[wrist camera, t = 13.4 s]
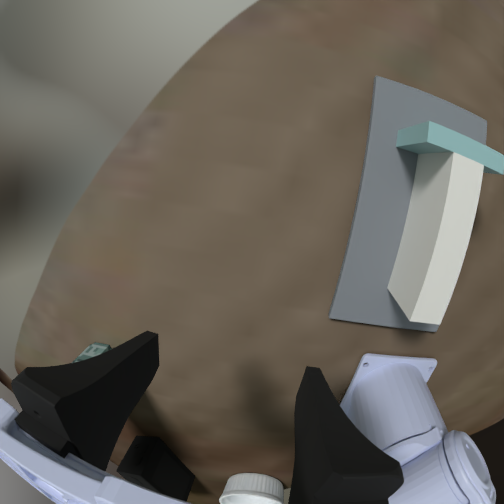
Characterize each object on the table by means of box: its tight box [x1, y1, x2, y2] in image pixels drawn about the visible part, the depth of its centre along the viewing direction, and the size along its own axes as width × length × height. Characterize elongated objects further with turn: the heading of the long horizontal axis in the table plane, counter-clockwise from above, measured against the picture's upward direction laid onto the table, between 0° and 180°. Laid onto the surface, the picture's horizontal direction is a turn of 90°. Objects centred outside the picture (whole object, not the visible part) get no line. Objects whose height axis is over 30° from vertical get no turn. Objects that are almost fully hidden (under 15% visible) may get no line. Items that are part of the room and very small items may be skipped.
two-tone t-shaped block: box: [387, 121, 504, 325], centre depth 15 cm, size 11×6×5 cm, turn 171°
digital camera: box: [117, 436, 195, 502], centre depth 28 cm, size 10×5×7 cm, turn 20°
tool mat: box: [329, 76, 487, 332], centre depth 18 cm, size 18×10×1 cm, turn 171°
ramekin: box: [219, 473, 284, 504], centre depth 29 cm, size 9×9×4 cm
